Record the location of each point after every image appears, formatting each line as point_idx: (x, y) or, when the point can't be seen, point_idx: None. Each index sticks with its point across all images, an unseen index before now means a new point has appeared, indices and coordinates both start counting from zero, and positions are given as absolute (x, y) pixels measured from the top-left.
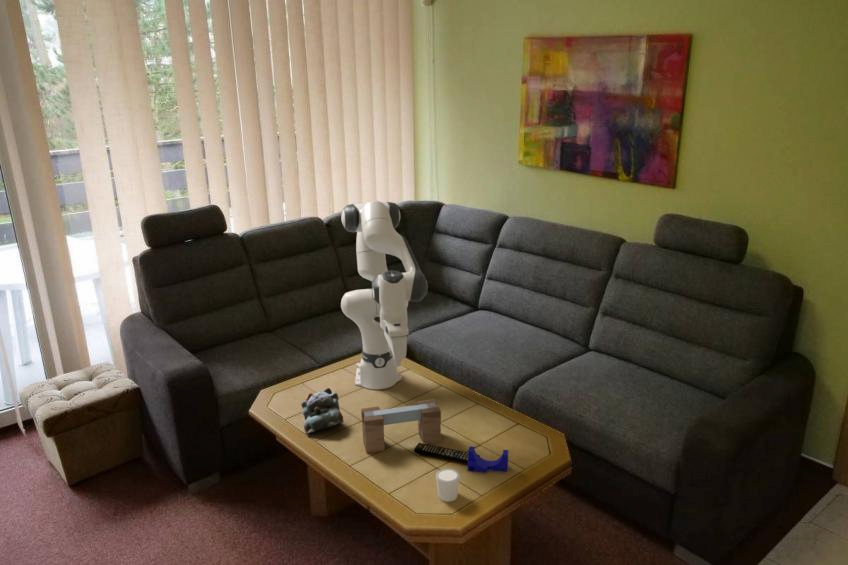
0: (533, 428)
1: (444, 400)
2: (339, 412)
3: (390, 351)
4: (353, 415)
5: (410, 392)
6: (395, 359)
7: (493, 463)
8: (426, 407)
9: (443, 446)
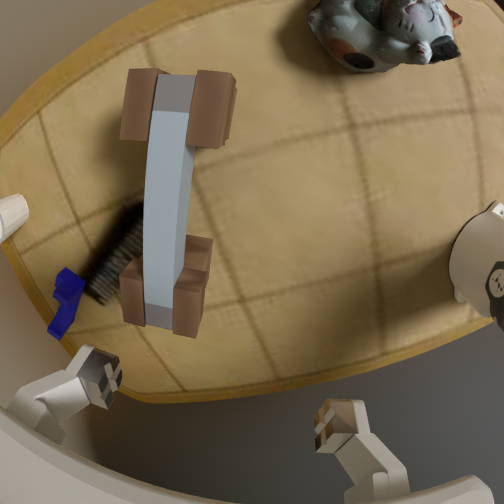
0: (165, 395)
1: (327, 342)
2: (349, 46)
3: (332, 416)
4: (389, 121)
5: (404, 296)
6: (28, 385)
7: (65, 308)
8: (149, 299)
9: None
